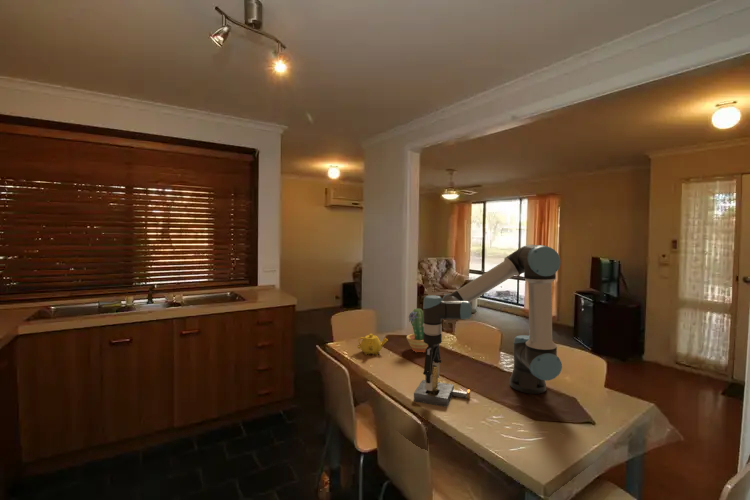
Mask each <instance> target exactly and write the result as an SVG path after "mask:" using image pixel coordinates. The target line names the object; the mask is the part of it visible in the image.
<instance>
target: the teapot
mask: <svg viewBox="0 0 750 500" xmlns="http://www.w3.org/2000/svg"><path fill="white" fill-rule="evenodd" d="M361 339H362V340H361ZM388 339H389V338H387V337H384V339H383V340H382V341H381V340H380V339H379V337H378V336H377V335H376V334H375V335H374V333H369V334H367V335H365V336H364V337H363V336H362V337H359V338H358V344H357V348H358V349H360V350H361V351H362V352H363V353H364V355H365V354H366V355H365V356H368V355H369V354H373V355H374V356H378V355H377V354H378V353H380V351H382V349H383V346H384V345H385V344H386V343H387V341H389V340H388ZM367 354H368V355H367Z"/></svg>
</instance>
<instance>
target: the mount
mask: <svg viewBox="0 0 750 500" xmlns="http://www.w3.org/2000/svg"><path fill="white" fill-rule="evenodd" d="M454 387H455V385H454V384H453V383H452V384H451V383H446V382H439V381H438V395H432V394H428V390H425V379H422V380H421V381H420V383H419V385H418V386H417V388H416V389H415V391H414V392H413V402H418V403H422V404H428V405H433V406H439V407H444V408H448V407H449V404H450V402H451V400H452V397H453V396H452V390H455V388H454Z"/></svg>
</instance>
